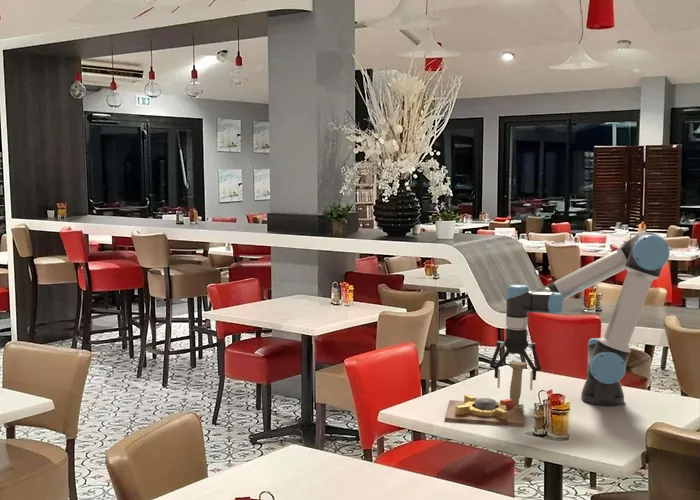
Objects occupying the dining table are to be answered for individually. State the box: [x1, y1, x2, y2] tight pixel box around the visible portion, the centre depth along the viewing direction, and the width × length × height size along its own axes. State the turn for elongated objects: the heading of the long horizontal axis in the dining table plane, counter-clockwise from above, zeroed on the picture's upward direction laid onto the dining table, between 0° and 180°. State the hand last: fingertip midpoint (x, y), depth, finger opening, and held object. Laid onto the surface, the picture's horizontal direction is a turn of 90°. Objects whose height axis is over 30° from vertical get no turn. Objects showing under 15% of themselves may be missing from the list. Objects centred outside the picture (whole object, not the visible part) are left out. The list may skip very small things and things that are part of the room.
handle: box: [508, 360, 528, 404], centre depth 293 cm, size 5×6×15 cm
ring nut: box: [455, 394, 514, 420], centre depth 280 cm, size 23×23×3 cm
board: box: [444, 397, 525, 428], centre depth 280 cm, size 26×22×5 cm
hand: (514, 388), depth 294 cm, fingers open, 11 cm apart
